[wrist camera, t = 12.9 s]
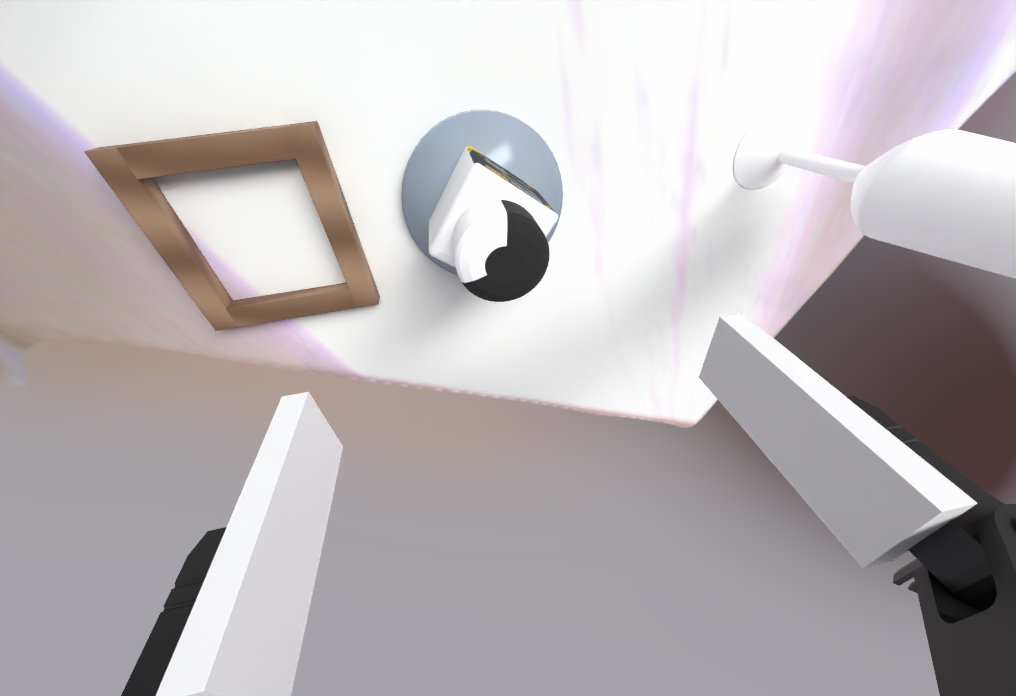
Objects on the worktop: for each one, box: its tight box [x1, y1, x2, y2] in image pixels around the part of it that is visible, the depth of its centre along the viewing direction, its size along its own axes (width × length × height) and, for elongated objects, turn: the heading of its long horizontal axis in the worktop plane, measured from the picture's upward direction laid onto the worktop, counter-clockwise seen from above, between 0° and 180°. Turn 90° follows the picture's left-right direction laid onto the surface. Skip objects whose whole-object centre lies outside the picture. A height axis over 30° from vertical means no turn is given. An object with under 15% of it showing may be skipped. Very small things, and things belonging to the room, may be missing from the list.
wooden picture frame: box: [84, 121, 380, 331], centre depth 30 cm, size 15×15×2 cm
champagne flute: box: [733, 109, 1016, 279], centre depth 25 cm, size 7×7×24 cm
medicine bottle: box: [429, 145, 558, 302], centre depth 27 cm, size 7×7×12 cm
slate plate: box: [402, 110, 563, 275], centre depth 32 cm, size 14×14×1 cm
